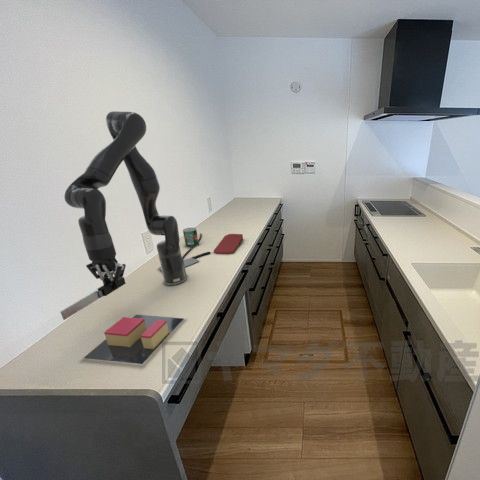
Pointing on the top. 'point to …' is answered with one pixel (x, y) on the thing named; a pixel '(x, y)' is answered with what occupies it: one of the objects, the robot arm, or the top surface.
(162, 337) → the cake slice
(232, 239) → the red slab
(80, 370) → the top surface
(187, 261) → the cleaver
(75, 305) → the knife
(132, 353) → the slate board
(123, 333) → the cake
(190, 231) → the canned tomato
